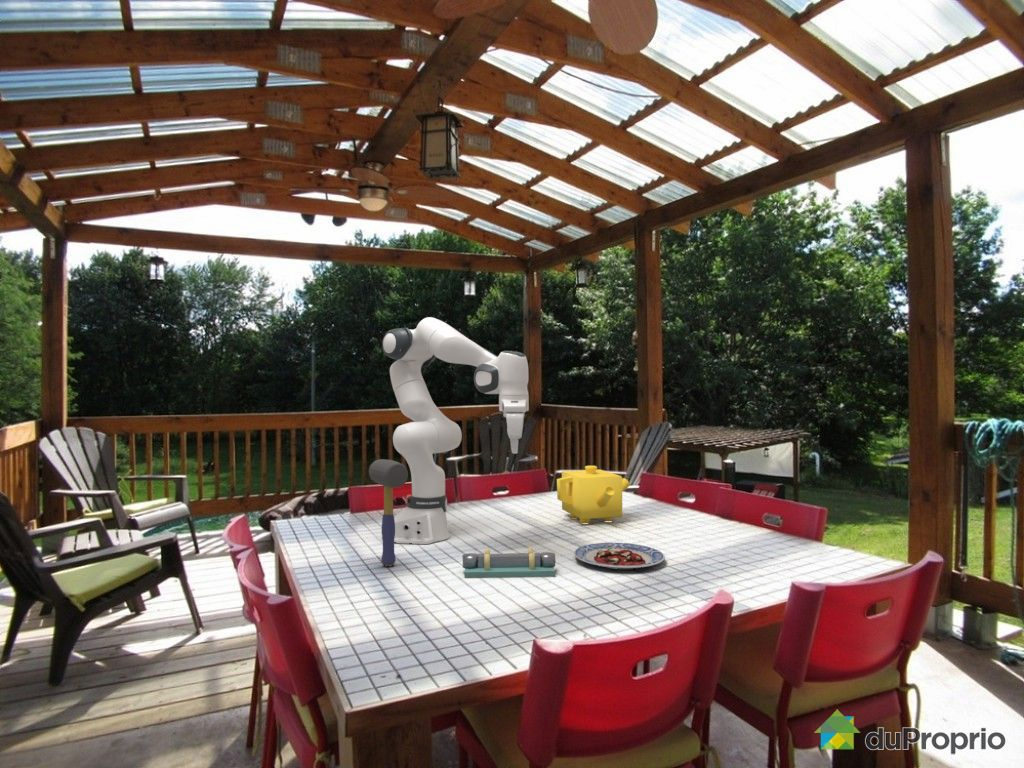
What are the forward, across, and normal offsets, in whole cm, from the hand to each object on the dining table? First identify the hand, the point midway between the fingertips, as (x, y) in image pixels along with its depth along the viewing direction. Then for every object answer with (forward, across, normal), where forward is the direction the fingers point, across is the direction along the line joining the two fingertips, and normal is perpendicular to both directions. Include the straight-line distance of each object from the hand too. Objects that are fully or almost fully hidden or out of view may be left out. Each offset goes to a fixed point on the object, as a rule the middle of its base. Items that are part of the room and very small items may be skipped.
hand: (514, 451), depth 183 cm
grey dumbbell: (+30, +15, -2) cm, 33 cm away
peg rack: (+31, +15, -2) cm, 35 cm away
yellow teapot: (+31, -49, +32) cm, 66 cm away
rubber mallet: (+31, +8, -36) cm, 48 cm away
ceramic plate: (+32, +6, +30) cm, 44 cm away
